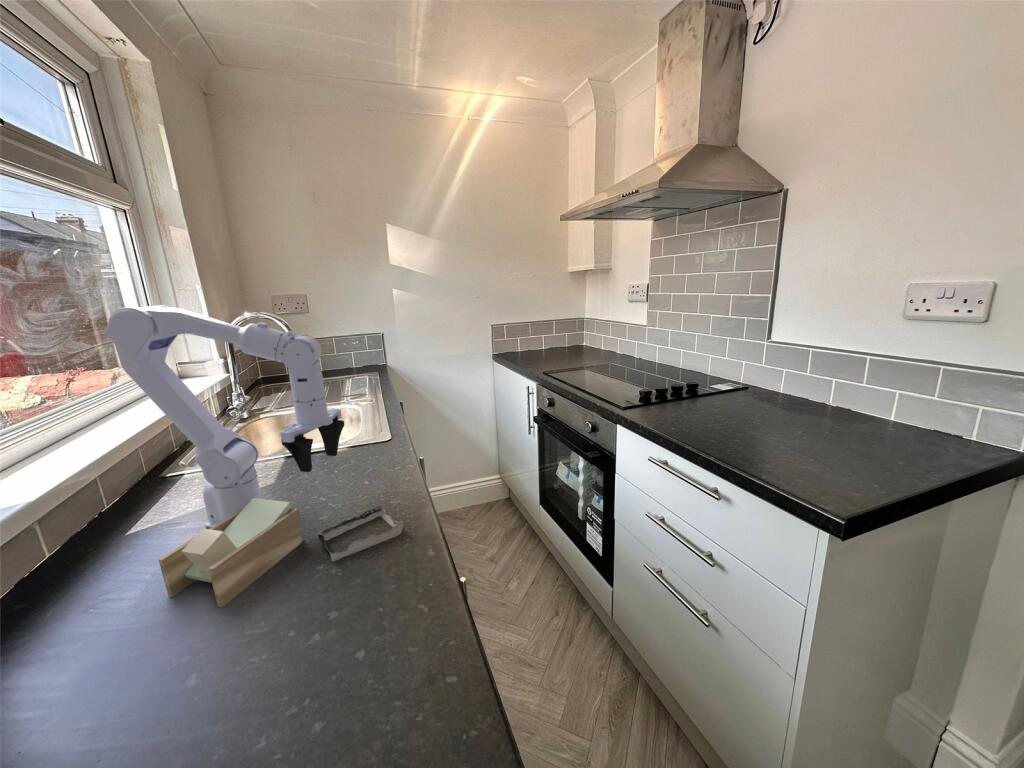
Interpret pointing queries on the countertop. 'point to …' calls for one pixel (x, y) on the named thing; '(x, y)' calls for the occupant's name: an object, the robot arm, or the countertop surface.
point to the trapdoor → (247, 527)
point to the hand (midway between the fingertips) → (319, 462)
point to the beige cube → (208, 548)
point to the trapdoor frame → (237, 558)
